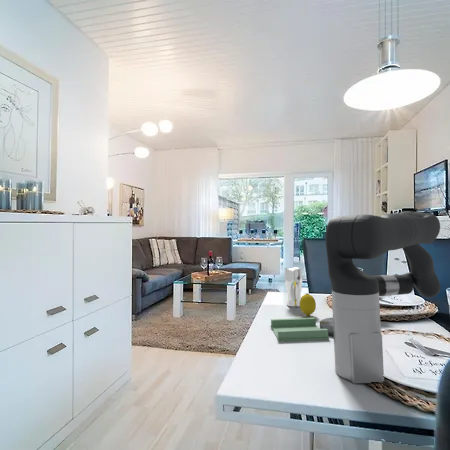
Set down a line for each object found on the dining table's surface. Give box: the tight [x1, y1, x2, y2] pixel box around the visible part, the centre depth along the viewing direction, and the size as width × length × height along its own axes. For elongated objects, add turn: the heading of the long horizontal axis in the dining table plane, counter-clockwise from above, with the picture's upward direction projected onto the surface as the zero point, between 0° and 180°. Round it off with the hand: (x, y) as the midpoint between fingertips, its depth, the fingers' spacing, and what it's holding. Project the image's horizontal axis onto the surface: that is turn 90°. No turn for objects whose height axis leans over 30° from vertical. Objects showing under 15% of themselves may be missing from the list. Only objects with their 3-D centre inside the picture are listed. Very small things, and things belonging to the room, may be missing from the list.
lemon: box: [299, 293, 317, 317], centre depth 108 cm, size 6×6×8 cm
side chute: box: [270, 317, 330, 342], centre depth 91 cm, size 14×14×2 cm
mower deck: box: [319, 317, 334, 338], centre depth 91 cm, size 14×14×2 cm
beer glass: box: [284, 267, 303, 308], centre depth 124 cm, size 7×7×15 cm
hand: (338, 288), depth 109 cm, fingers open, 8 cm apart
